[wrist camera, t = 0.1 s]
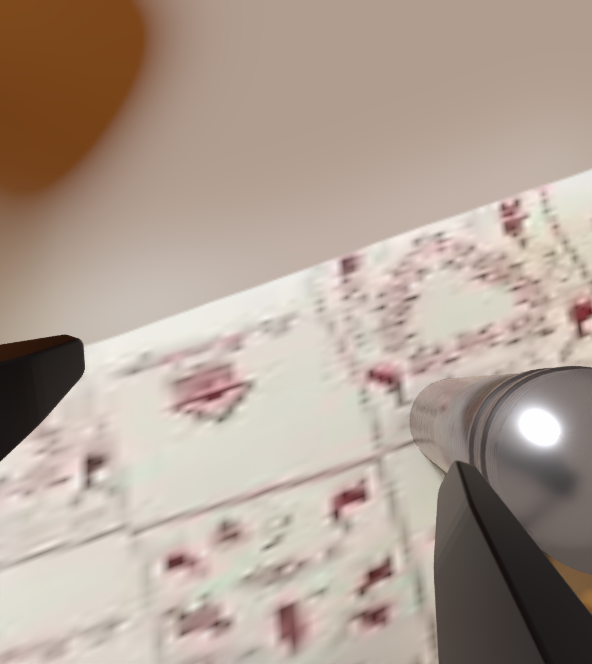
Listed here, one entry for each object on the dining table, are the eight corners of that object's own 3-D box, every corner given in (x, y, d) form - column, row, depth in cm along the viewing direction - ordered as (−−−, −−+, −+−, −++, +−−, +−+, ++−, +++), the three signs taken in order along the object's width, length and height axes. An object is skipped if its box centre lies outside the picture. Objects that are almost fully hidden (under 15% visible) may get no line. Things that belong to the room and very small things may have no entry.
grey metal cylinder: (514, 460, 22) (755, 562, 9) (420, 478, 22) (527, 599, 10) (488, 368, 23) (676, 344, 10) (398, 387, 23) (468, 387, 10)
